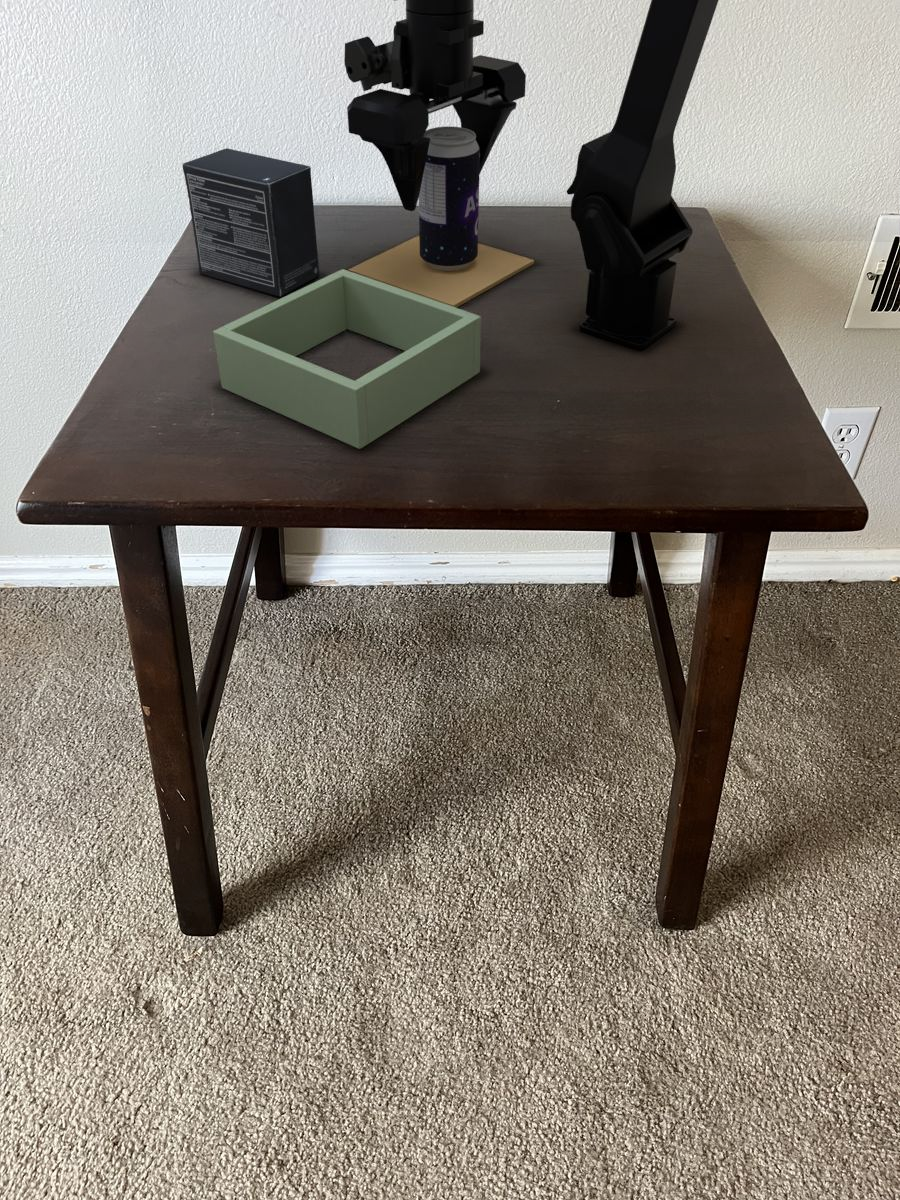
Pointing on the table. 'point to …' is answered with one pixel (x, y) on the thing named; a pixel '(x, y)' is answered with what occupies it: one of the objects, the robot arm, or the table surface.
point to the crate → (331, 401)
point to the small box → (253, 220)
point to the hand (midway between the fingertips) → (440, 195)
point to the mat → (441, 272)
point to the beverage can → (450, 199)
